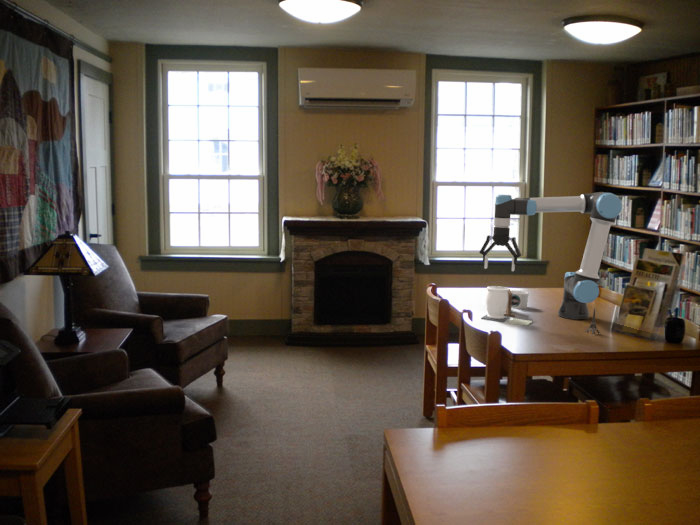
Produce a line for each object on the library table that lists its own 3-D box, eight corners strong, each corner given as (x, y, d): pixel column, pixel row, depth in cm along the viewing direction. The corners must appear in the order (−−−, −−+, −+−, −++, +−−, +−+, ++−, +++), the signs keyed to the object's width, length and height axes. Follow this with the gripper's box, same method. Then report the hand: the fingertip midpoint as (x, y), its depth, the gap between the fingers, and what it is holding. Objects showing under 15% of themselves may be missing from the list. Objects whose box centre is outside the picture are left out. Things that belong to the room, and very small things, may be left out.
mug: (529, 306, 386) (530, 291, 385) (525, 309, 376) (526, 294, 375) (504, 303, 391) (505, 289, 390) (500, 306, 382) (501, 292, 381)
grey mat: (509, 318, 355) (509, 316, 354) (503, 322, 345) (503, 320, 345) (487, 315, 360) (488, 313, 359) (481, 319, 350) (481, 317, 350)
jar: (505, 315, 357) (507, 286, 354) (507, 320, 346) (510, 290, 344) (484, 314, 358) (486, 285, 356) (485, 318, 347) (487, 288, 345)
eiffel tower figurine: (577, 329, 337) (580, 302, 335) (600, 331, 336) (602, 303, 334) (581, 337, 323) (584, 308, 321) (605, 339, 321) (607, 310, 319)
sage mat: (532, 322, 347) (532, 320, 347) (527, 325, 339) (527, 324, 339) (514, 319, 351) (514, 318, 351) (509, 323, 343) (509, 321, 343)
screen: (510, 309, 375) (512, 287, 374) (515, 316, 358) (516, 293, 356) (498, 308, 376) (500, 286, 374) (503, 316, 358) (504, 292, 356)
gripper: (529, 227, 343) (526, 271, 346) (479, 224, 355) (477, 266, 358) (525, 228, 337) (522, 273, 340) (474, 225, 348) (472, 268, 351)
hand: (499, 269), depth 349 cm, fingers open, 13 cm apart
